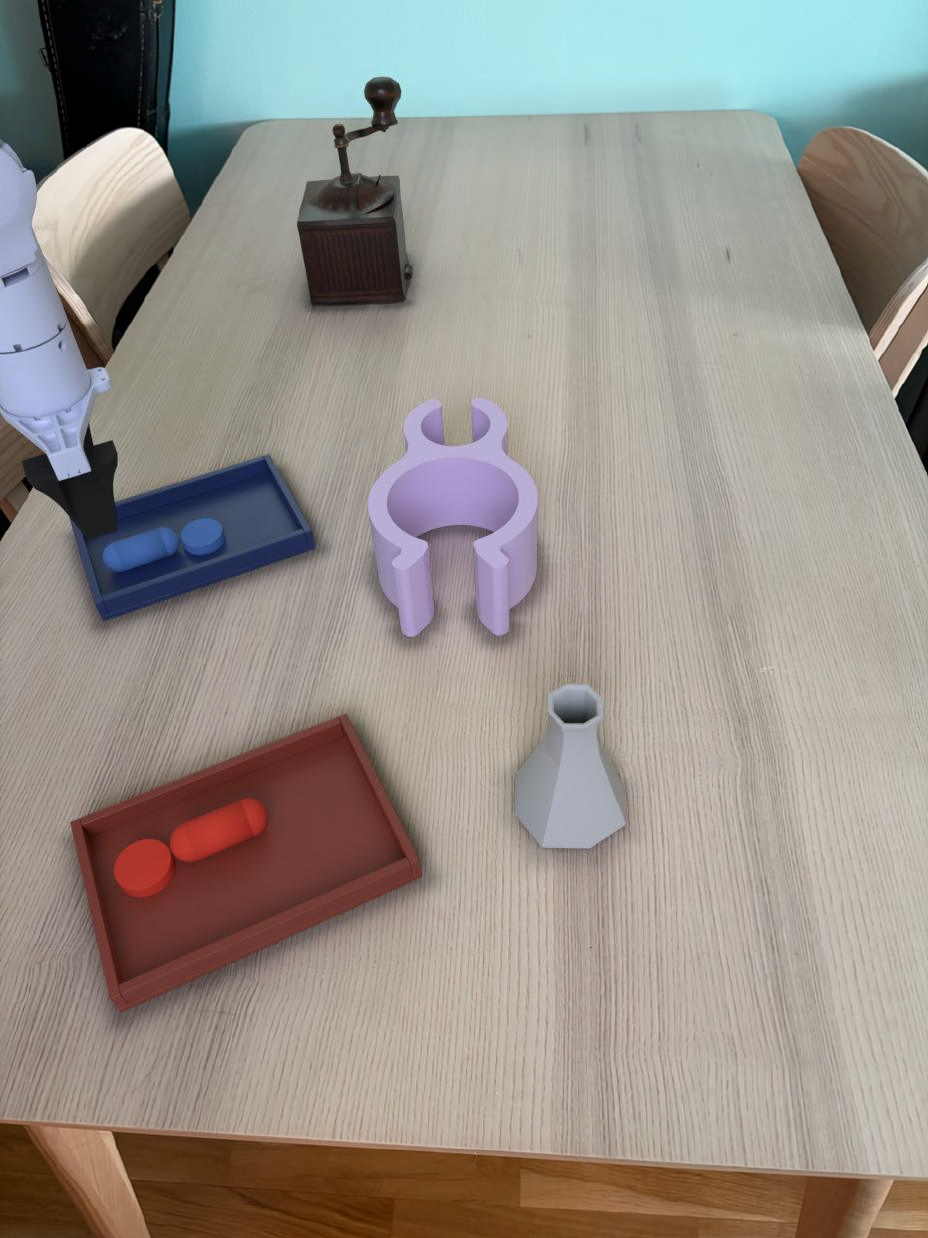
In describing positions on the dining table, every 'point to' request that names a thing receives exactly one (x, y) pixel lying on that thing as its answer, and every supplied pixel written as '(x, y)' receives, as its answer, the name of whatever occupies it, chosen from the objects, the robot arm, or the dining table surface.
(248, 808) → the red disc-ended bar
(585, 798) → the flask
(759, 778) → the dining table surface
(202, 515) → the blue tray
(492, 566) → the clip
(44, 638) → the dining table surface
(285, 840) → the red tray
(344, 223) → the manual coffee grinder
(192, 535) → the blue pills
